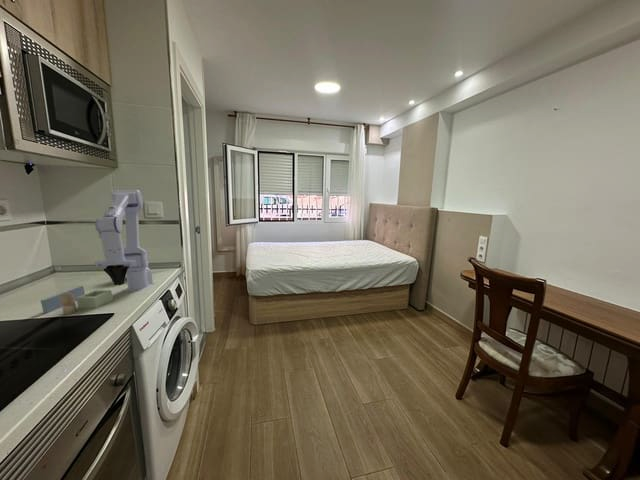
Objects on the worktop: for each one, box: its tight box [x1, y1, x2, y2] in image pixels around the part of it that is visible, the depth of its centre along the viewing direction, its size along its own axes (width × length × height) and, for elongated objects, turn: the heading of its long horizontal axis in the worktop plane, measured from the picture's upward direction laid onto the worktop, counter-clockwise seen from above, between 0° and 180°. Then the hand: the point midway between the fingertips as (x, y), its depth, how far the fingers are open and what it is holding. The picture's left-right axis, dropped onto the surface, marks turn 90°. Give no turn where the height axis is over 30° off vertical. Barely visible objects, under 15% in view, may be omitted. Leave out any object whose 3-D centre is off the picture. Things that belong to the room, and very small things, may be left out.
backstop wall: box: [40, 285, 86, 314], centre depth 98 cm, size 14×2×5 cm, turn 176°
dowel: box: [60, 293, 78, 316], centre depth 91 cm, size 3×3×7 cm
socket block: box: [76, 289, 114, 309], centre depth 98 cm, size 7×7×4 cm
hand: (119, 284), depth 96 cm, fingers closed
